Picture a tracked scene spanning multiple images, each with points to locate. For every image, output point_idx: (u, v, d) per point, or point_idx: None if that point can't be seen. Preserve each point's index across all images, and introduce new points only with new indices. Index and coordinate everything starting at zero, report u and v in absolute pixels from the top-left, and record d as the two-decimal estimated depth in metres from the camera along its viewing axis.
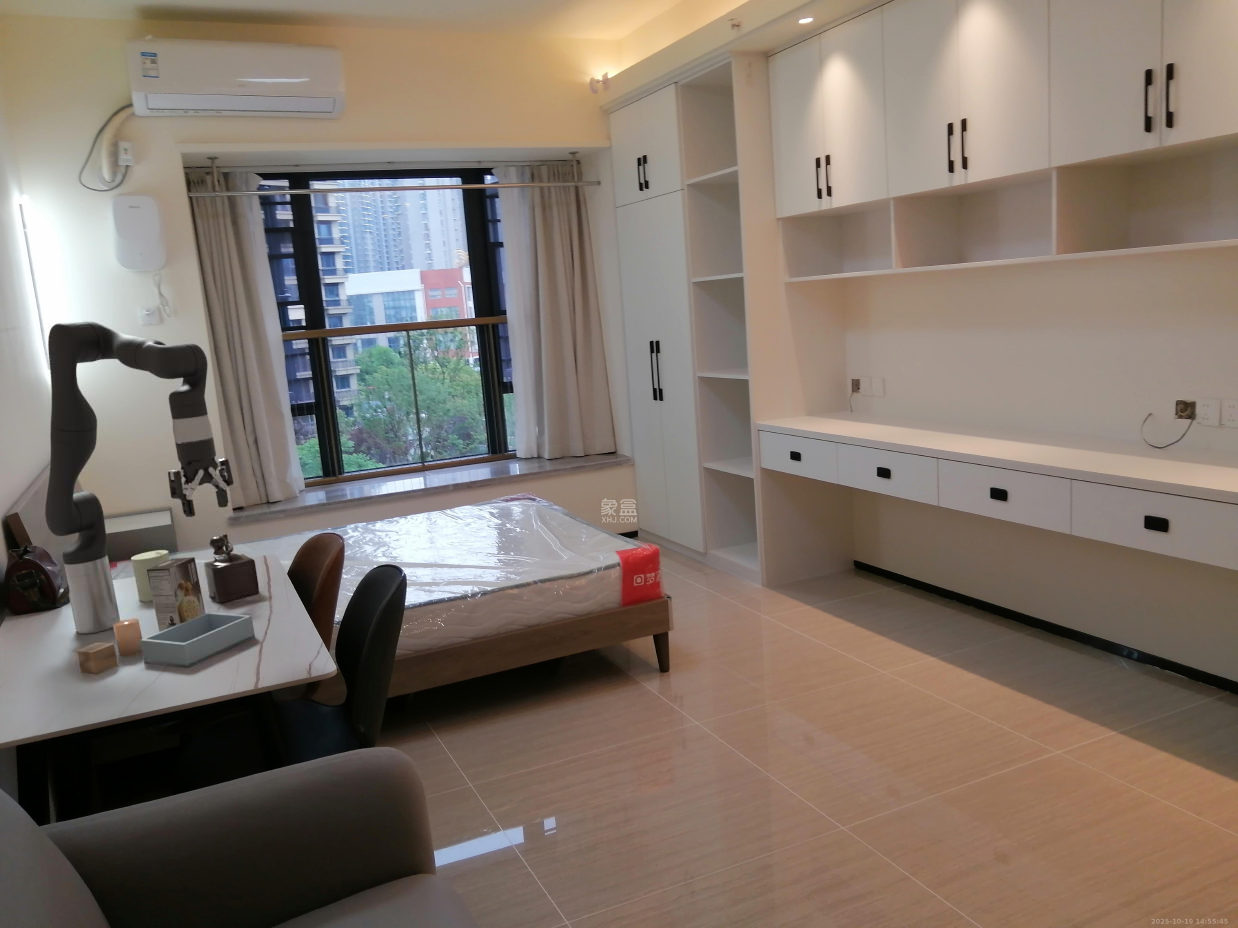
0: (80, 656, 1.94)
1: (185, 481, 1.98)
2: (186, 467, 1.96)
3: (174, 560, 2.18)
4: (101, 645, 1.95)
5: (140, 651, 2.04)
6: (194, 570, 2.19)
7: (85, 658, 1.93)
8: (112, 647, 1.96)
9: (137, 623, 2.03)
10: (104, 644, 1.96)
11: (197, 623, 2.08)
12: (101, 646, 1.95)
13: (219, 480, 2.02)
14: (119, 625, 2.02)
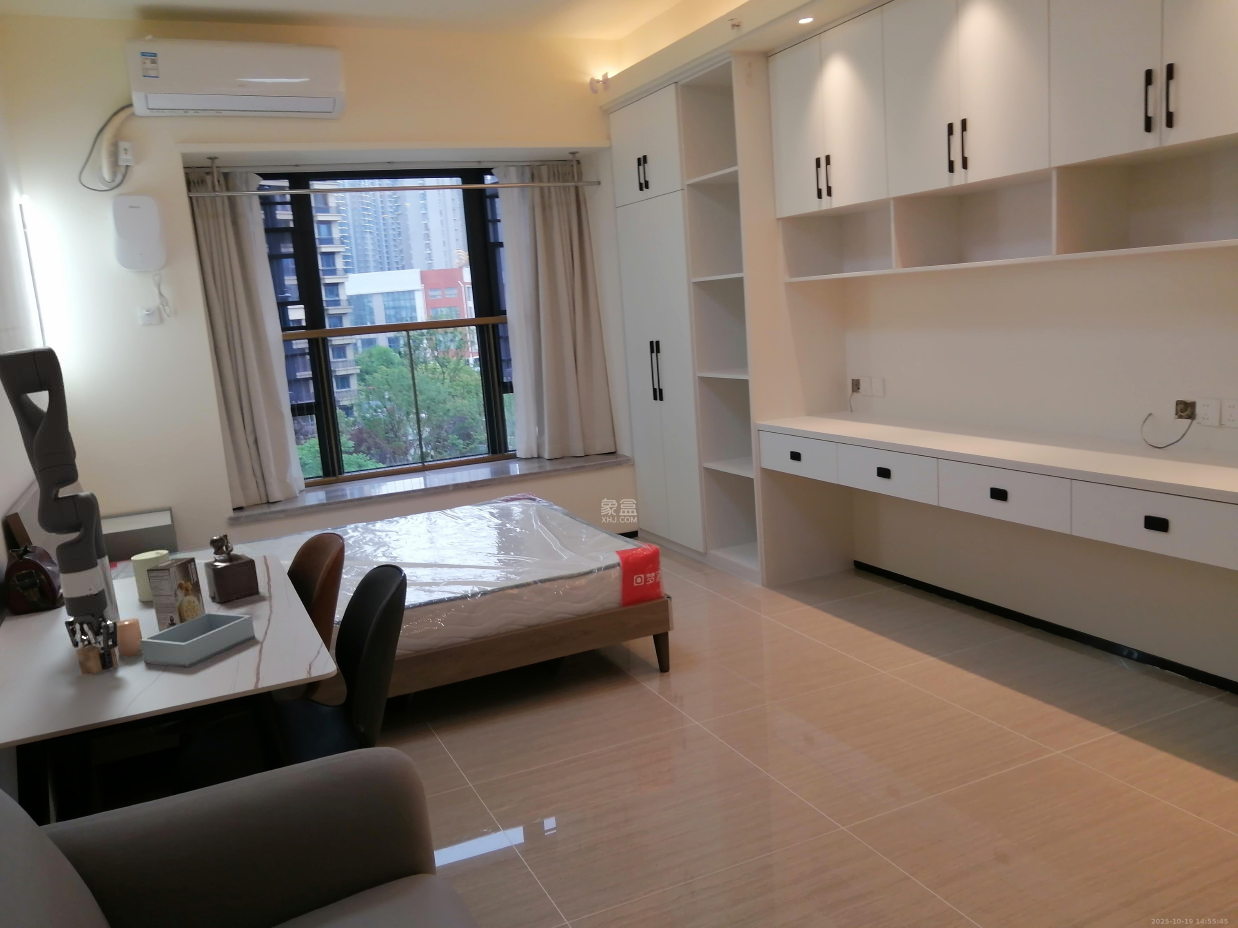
0: (80, 656, 1.94)
1: None
2: (105, 616, 1.93)
3: (174, 560, 2.18)
4: None
5: (140, 651, 2.04)
6: (194, 570, 2.19)
7: (85, 657, 1.93)
8: None
9: (137, 623, 2.03)
10: None
11: (197, 623, 2.08)
12: None
13: None
14: (119, 625, 2.02)
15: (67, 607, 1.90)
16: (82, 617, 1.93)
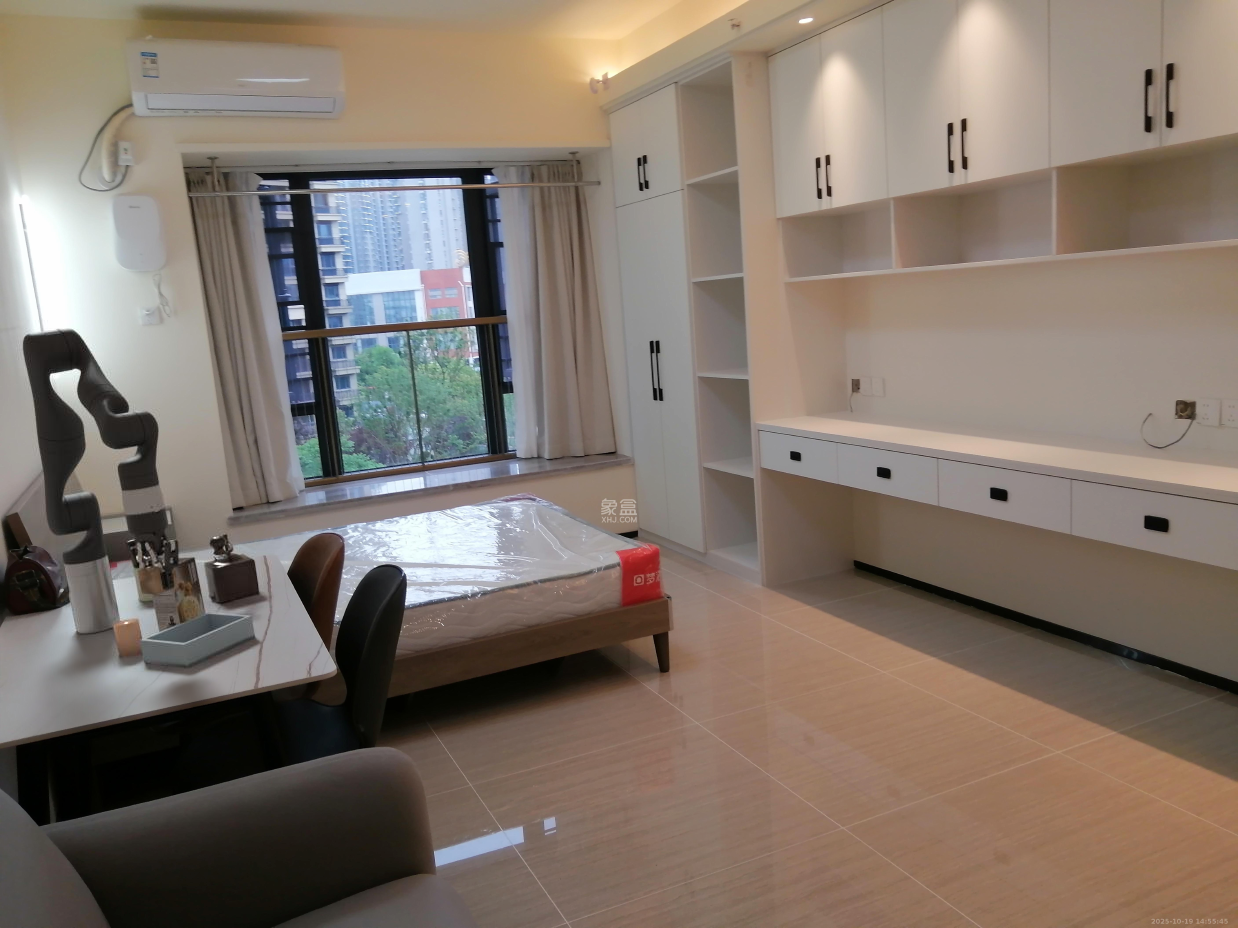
0: (141, 576, 1.92)
1: None
2: None
3: None
4: None
5: (140, 651, 2.04)
6: (194, 570, 2.19)
7: (146, 577, 1.91)
8: None
9: (137, 623, 2.03)
10: None
11: (197, 623, 2.08)
12: None
13: None
14: (119, 625, 2.02)
15: (129, 525, 1.89)
16: (143, 536, 1.91)
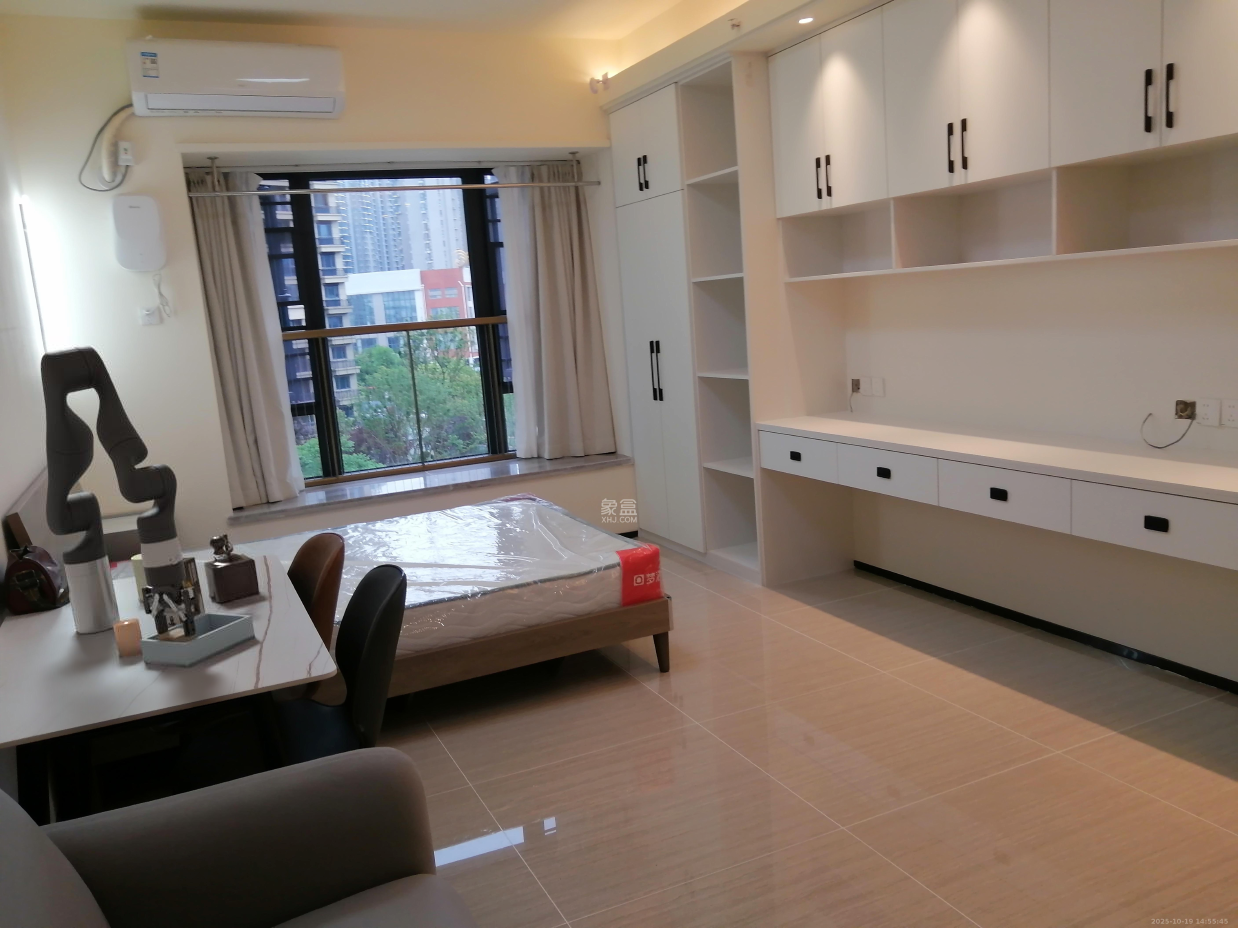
0: None
1: None
2: (183, 586, 1.94)
3: None
4: (182, 631, 1.97)
5: (140, 651, 2.04)
6: (194, 570, 2.19)
7: None
8: None
9: (137, 623, 2.03)
10: None
11: (197, 623, 2.08)
12: (182, 632, 1.96)
13: None
14: (119, 625, 2.02)
15: (147, 577, 1.91)
16: (161, 588, 1.94)
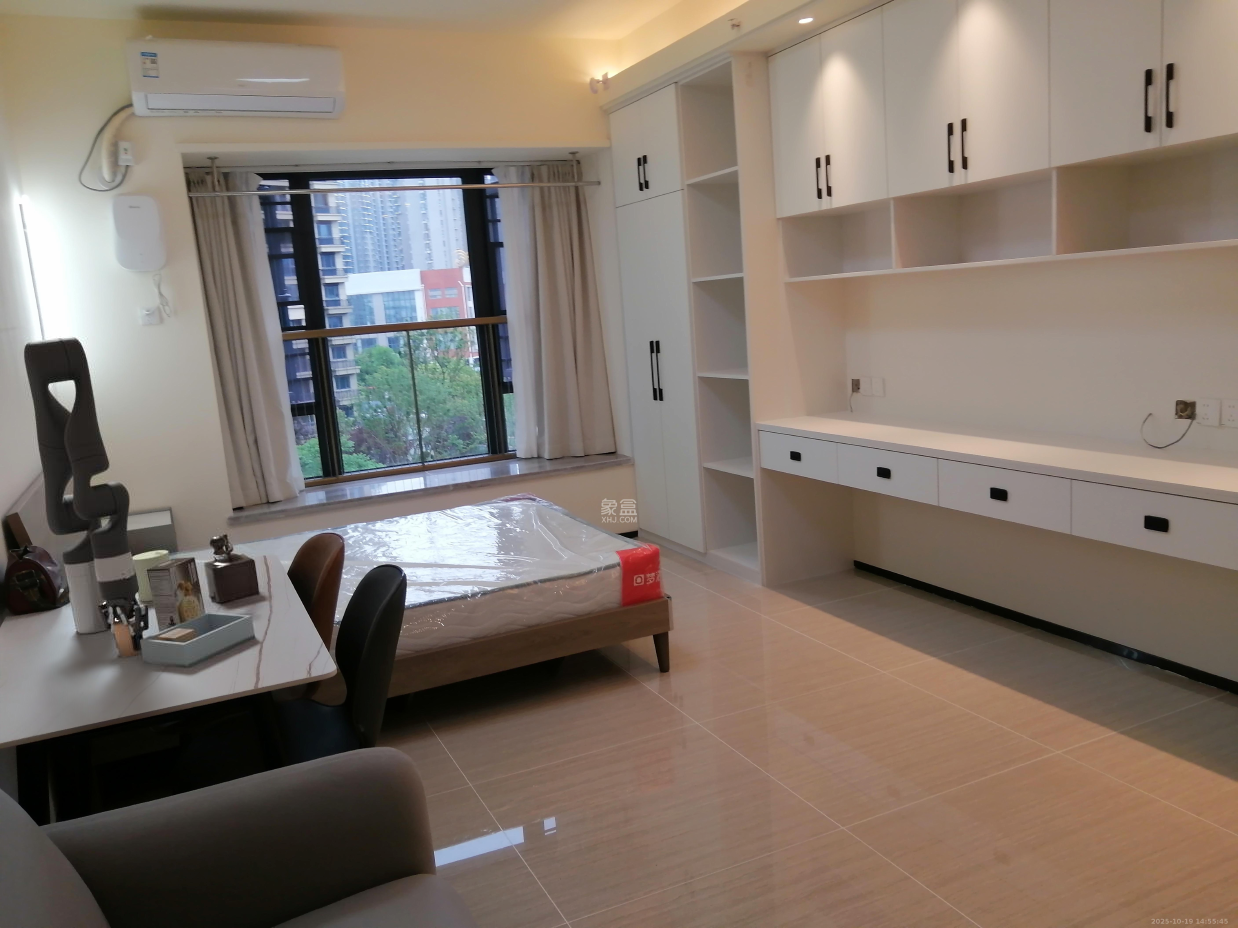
0: None
1: None
2: None
3: (174, 560, 2.18)
4: (182, 631, 1.97)
5: (140, 651, 2.04)
6: (194, 570, 2.19)
7: None
8: (193, 633, 1.97)
9: None
10: (184, 630, 1.98)
11: (197, 623, 2.08)
12: (182, 632, 1.96)
13: None
14: (119, 625, 2.02)
15: (101, 591, 1.99)
16: (115, 601, 2.02)
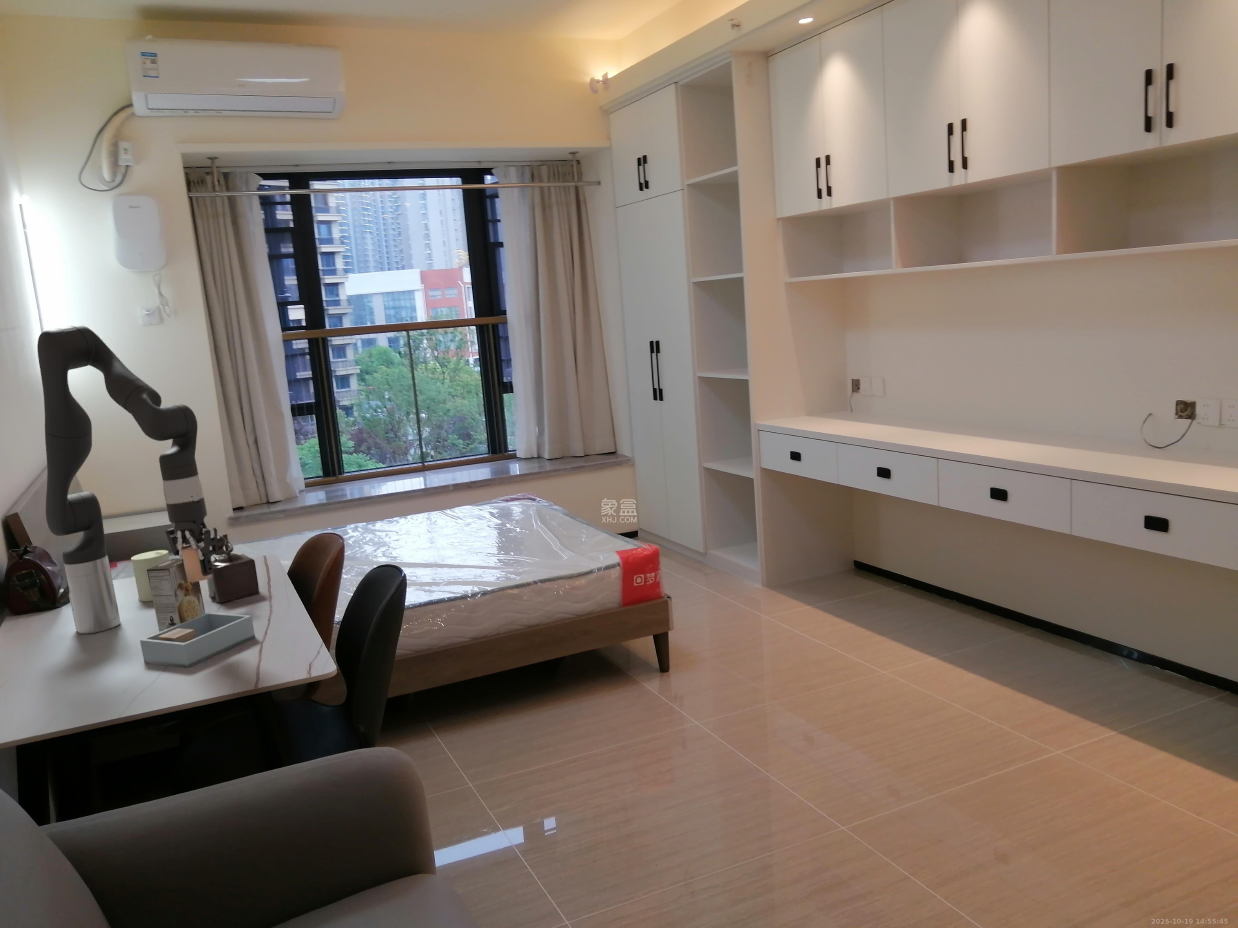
0: None
1: None
2: (205, 524, 1.99)
3: (174, 560, 2.18)
4: (182, 631, 1.97)
5: (208, 576, 2.01)
6: None
7: None
8: (193, 633, 1.97)
9: None
10: (184, 630, 1.98)
11: (197, 623, 2.08)
12: (182, 632, 1.96)
13: None
14: (187, 549, 1.99)
15: (170, 514, 1.97)
16: (183, 525, 1.99)
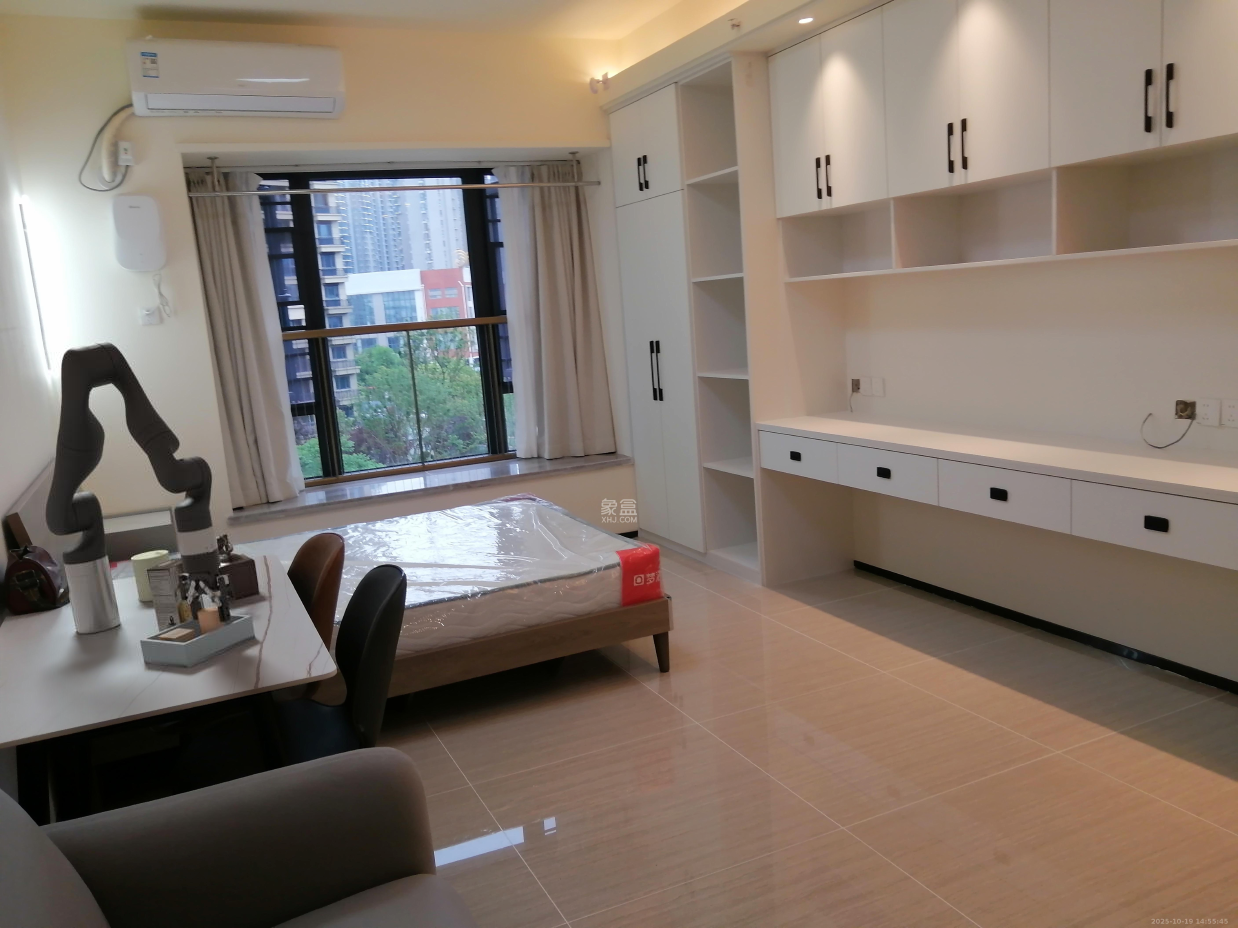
0: None
1: None
2: (218, 573, 2.02)
3: (174, 560, 2.18)
4: (182, 631, 1.97)
5: None
6: None
7: None
8: (193, 633, 1.97)
9: None
10: (184, 630, 1.98)
11: (197, 623, 2.08)
12: (182, 632, 1.96)
13: None
14: (204, 613, 2.02)
15: (185, 565, 1.99)
16: (197, 575, 2.02)
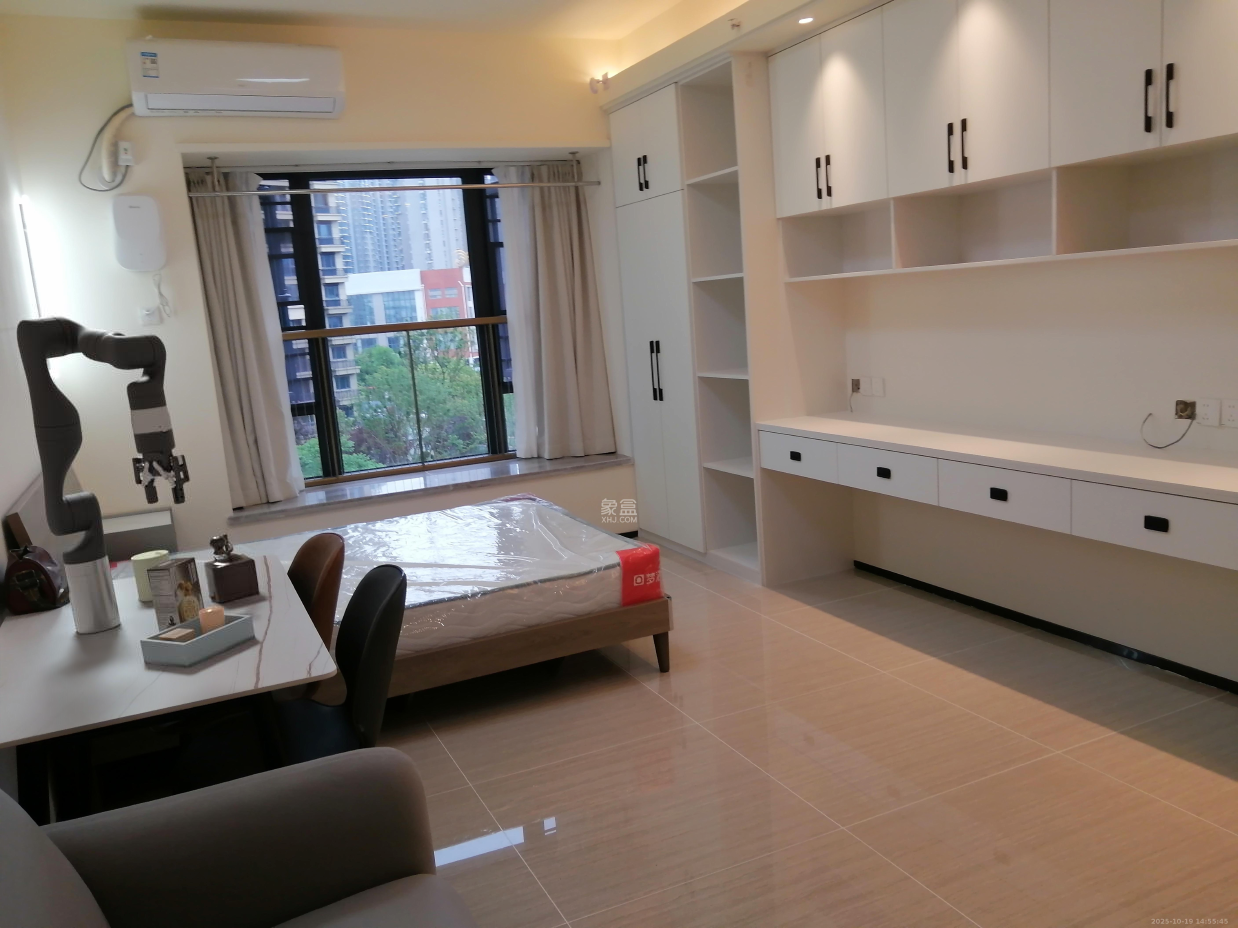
0: None
1: None
2: (172, 454, 1.98)
3: (174, 560, 2.18)
4: (182, 631, 1.97)
5: None
6: (194, 570, 2.19)
7: None
8: (193, 633, 1.97)
9: (222, 610, 2.04)
10: (184, 630, 1.98)
11: (197, 623, 2.08)
12: (182, 632, 1.96)
13: None
14: (205, 612, 2.02)
15: (137, 444, 1.95)
16: (151, 456, 1.98)
